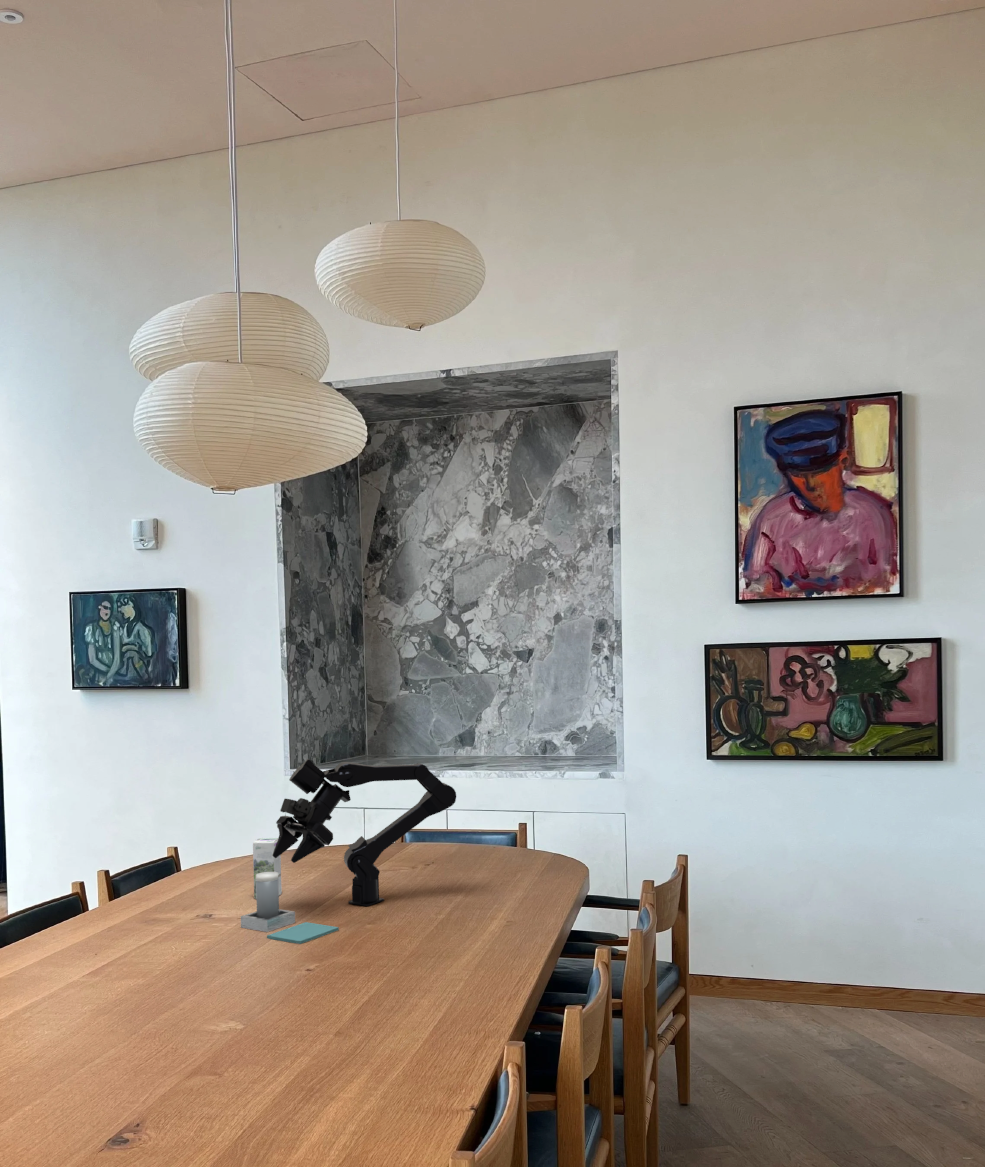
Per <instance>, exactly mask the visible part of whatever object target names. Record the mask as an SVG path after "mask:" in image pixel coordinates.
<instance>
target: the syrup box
mask: <svg viewBox="0 0 985 1167" xmlns="http://www.w3.org/2000/svg"><path fill="white" fill-rule="evenodd" d="M278 838H279V837H278ZM278 838H277V837H275V838H273V837H269V838H263V837H262V838H257V839H255V840H254V841H253V842H252V855H253V856H252V857H253V859H252V862H253V866H252V868H253V898H254V899H255V900H256V874H258V873H262V872H278V884H279V896H281V895H282V893H283V891H282V890H283V888H282V886H283V885H282V861H281V860H282V857H281V856H282V854H281V855H280V856H278V857H277V858H274V857H273V852H274V849H275V847H276V844H277V841H278Z"/></svg>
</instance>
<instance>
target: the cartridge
mask: <svg viewBox="0 0 985 1167" xmlns="http://www.w3.org/2000/svg"><path fill="white" fill-rule="evenodd" d="M255 901H256V911H257V917H258V918H265V919H269V918H272V917H275V916H278V915H279V909H280V895H279V884H278V872H262V873H258V874H256V899H255Z"/></svg>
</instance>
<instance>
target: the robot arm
mask: <svg viewBox="0 0 985 1167" xmlns="http://www.w3.org/2000/svg"><path fill="white" fill-rule="evenodd" d="M415 780H416V781H417V782H418V783H419V784H420V785H421V786H422V787H423V789H425V791H426V792H425V793H424V794H423V795H422V797H421V798H420V800H419V801H418V802H417V803H416V804H415V805H414V806H412V807H411V808H409V809H408V810H407V811H406V812H404V813H403V814H401V815H400V816H399V817H397V818H396V819H395V820H393V821H392V822H391V823H390V824H388V825H387V826H386V827H385V828H383V829H382V830H380V831H379V832H378V833H376V834H375V835H374V836H373V837H370V838H368V839H367V838H366V839H365V838H364V836H363V835H362V836H360V837H359V838H358V839H357V840H356V841H355V842H353V843H351V844H348V848H347V849H346V850H345V852H344V855H343V861H344V864H345V866H346V867H347V868H348V870H349V871H350V872H351V873H352V874H353V875H354V877H353V878H352V879H351V880H352V885H351V895H352V896H351V897H352V898H351V900H349V901H348V904H349V905H356V906H363V907H364V906H365V907H369V906H373V905H375V904H378V903H380V902H383V901H385V898H382V897H380V883H379V876H380V872H381V870H380V869H379V868H378V867H377V866H376V865H375V863H376V861H377V860H378V858H379V857H380V856H381V854H382V853H383V852H384V851H385V850H386V849H387V848H389V847H390V846H392V845H393V844H394V843H396V842H397V841H398V840H399V839H401V838H402V837H403V836H405V835H406V834H407V833H409V832H410V831H411V830H413V829H414V828H416V827H417V826H418V825H419V824H420V823H422V822H423V821H425V820H426V819H427V818H429V817H430V816H433V815H437V814H439V813H442V812H444V811H445V810H448V809H449V808H451V807H452V806H453V805H454V804H455V803H456V801H457V792H456V790H455V788H453V786H451V785H448V784H447V783H445V782H442V781H441V779H439V778H438V777H437V776H436V775H434V773H432V772H431V770H429V768H428V767H427V766H426V765H424V764H422V763H419V762H417V763H414V764H413V763H412V764H388V765H387V764H384V765H383V764H381V765H369V764H364V763H363V764H362V763H358V762H352V761H342V762H339V763H337V765H336V766H335V768H334V767H333V768H330V769H325V770H321V769H320V768H319V767H318V766H317V765H315V764H314V762H313V761H312V760H310V759H309V758H306V760H305V761H304V762H303V763H301V765H299V767H297V768H296V769H295V770H294V772H293V773H292V774H291V775H290V778H289V781H290V782H291V783H292V784H294V785H295V786H296V787H297V788H299V790H301V791H302V792H304V793H305V794H306V795H308V794H310V793H311V794H315V793H316V794H315V795H314V796H313V797H312V799H311V801H309V800H308V799H305V798H302V797H300V798H299V799H298V800H296V799H291V798H284V799H283V802H282V805H281V808H280V810H279V811H280V812H282V813H286V814H289V815H292V816H289V815H282V816H280V817H279V818H278V819H277V820H276V821H275V824H276V827H277V829H278V841H277V844H276V847H275V849H274V852H273V857H274V858H277V857H278V856H280V855H281V856H282V854H283V853H285V852H286V851H287V850H288V849H289V848H291V847H292V846H294V845H295V844H296V843H297V842H298V841H299V838H300V837H302V840H301V841H300V843H299V845H298V846H297V848H296V850H295V851H294V853H293V855H292V857H291V859H290V861H291V862H292V863H293V864H296V862H298V861H300V860H302V859H303V858H304V859H305V857H307V856H309V855H310V854H313V853H314V852H316V851H319V849H322V848H324V847H325V846H329V845H330V844H331V843H332V841H333V840H334V833H333V832H332V831H331V830H330V829H328V828H327V827H326V825H324V824H325V822H326V821H331V819H332V818H333V816H331V814H332V813H333V811H334V810H335V808H336V807H337V806H338V804H339V802H340V801H342V802H343V803H348V802H350V801H351V795H350V790H349V789H348V790H344V789H342V788H341V787H340V786H342V787H344V788H351V787H356V786H361V785H364V784H367V783H371V782H388V781H390V782H392V781H415ZM330 782H331V783H330ZM332 783H335V784H332ZM336 783H338V784H339V785H340V786H339V785H338V784H336Z"/></svg>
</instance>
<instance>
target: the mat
mask: <svg viewBox="0 0 985 1167" xmlns="http://www.w3.org/2000/svg"><path fill="white" fill-rule="evenodd" d="M339 930H340V927H338V926H332V925H325V924H320V923H314V922H307V921H305V922H302V923H300V924H296V925H294V926H291V927H288V928H287V927H286V928H285V929H282V930H279V931H275V932H273V933H271V934H268V935H266V939H270V940H273V941H274V940H275V941H280V942H286V943H291V944H292V943H293V944H299V945H302V944H304V943H307V942H310V941H313V940H316V939H318V938H321V937H323V936H326V935H329V934H331V933H335V932H338V931H339Z"/></svg>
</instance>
